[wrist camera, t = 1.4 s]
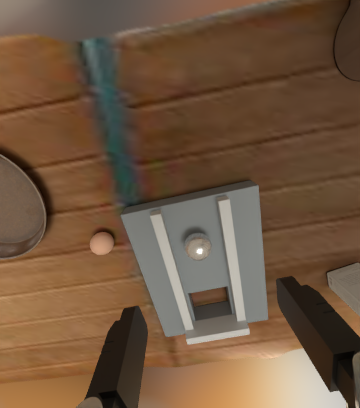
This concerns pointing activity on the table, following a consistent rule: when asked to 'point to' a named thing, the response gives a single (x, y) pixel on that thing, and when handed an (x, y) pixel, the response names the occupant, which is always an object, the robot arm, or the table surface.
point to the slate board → (206, 269)
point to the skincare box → (347, 285)
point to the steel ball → (197, 246)
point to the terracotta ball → (102, 243)
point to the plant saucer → (19, 211)
